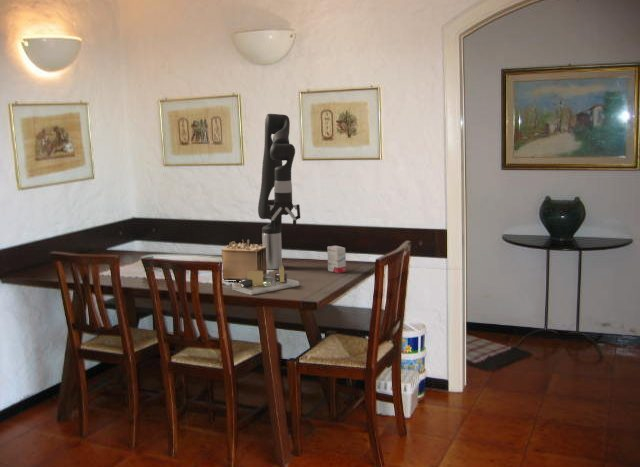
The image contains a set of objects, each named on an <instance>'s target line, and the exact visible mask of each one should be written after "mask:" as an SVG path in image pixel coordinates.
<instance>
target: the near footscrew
mask: <svg viewBox="0 0 640 467" xmlns="http://www.w3.org/2000/svg"><path fill="white" fill-rule="evenodd" d="M247 277H248V278H244V279H241V282H240V283H241V286H245V287H247V286H257V285H263V270H260V271H247Z"/></svg>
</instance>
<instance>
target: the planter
mask: <svg viewBox="0 0 640 467" xmlns="http://www.w3.org/2000/svg"><path fill="white" fill-rule="evenodd" d="M241 241H242V243H241V242H239V243H236V241H230V242H229V244H227V245H226V247H223V248H222V249H221V265H222V266H221V267H222V280H223V279H224V280H236V281H241V279H244V278H248V277H247V271H260V270H263V276H264V279H268V278H273V277H272V276H269V275H268V274H267V272H268V269H267V257H266V246H262V244H261V243H260V244H258V243H250V239H247V240H246V242H245V241H244V239H241ZM224 280H223V281H224Z"/></svg>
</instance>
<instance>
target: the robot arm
mask: <svg viewBox="0 0 640 467" xmlns="http://www.w3.org/2000/svg"><path fill="white" fill-rule="evenodd" d="M290 121H291V120H290V118H289V116H288V115H287V114H280V113H267V114H266V116H265V120H264V145H263V146H264V149H263V158H262V159H263V160H262V166H261V167H262V168H261V169H262V170H261V185H260V192H259V198H258V203H257V204H258V205H257V214H258V217H259V218H260V220H270V222H269V223H268V224H266V225H264V226H262V228H261V240H262V246H266V257H267V270H279V266H283V262H282V261H283V257H282V256H283V255H282V245H283V244H282V225H283V224H282V221H283V220H282V218H283V217H282V216H283V215H284V216H288V215H289V216H290V218H291V219H292V229H293V230H295V229H296V228H297V220H299V219H301V209H300V207H301V206H300V204H294V203H293V182H292V167H293V162H294V159H295V154H296V148H295V146H294V144H292V143H290V138H289V137H290V129H291V128H290ZM272 135H273V137H272ZM283 161H286V163H285V164H283ZM272 190H273V191H274V194H273V195H274V199H270V194H271V192H272ZM293 209H294V210H295V211H296V216H295V214H294V213H293V212H292V210H293Z"/></svg>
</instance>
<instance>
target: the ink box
mask: <svg viewBox="0 0 640 467" xmlns="http://www.w3.org/2000/svg"><path fill="white" fill-rule="evenodd" d="M326 248H327V251H326V252H327V270H328V272H332V273H336V274H341V273H346V272H347V260H346V247H343V246H339V245H331V246H329V245H328V246H327V247H326Z"/></svg>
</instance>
